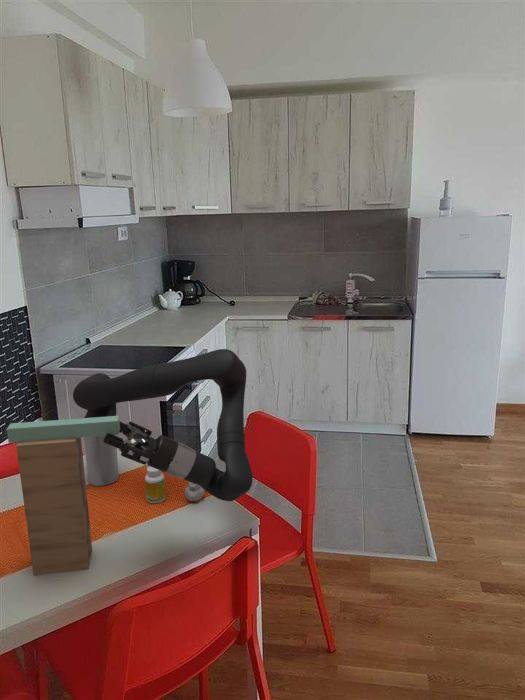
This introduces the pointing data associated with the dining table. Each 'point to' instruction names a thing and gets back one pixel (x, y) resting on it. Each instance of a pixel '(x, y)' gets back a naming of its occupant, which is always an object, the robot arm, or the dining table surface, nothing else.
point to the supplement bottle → (154, 485)
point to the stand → (55, 504)
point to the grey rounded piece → (194, 492)
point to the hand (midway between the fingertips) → (106, 429)
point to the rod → (63, 429)
